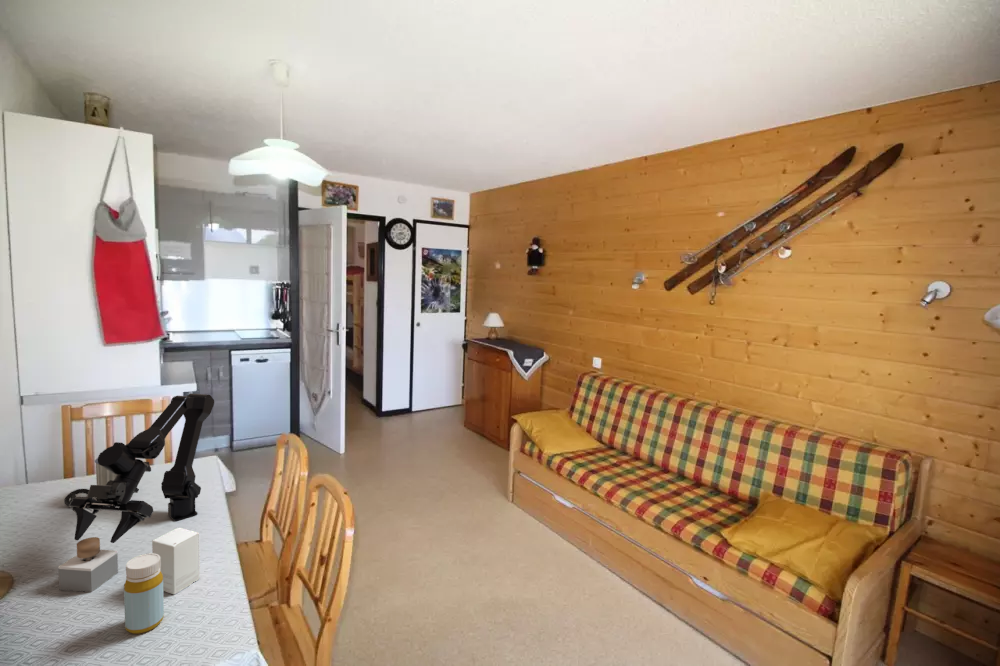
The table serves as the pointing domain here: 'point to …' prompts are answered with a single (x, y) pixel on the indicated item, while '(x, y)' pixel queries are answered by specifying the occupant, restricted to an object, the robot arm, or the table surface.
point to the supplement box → (178, 558)
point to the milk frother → (102, 479)
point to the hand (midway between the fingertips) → (93, 541)
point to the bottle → (143, 593)
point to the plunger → (88, 548)
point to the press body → (88, 571)
